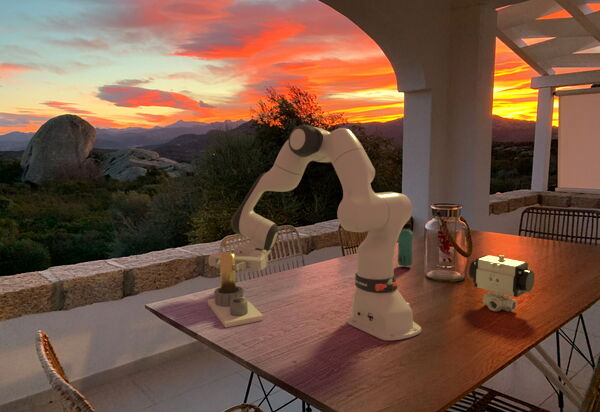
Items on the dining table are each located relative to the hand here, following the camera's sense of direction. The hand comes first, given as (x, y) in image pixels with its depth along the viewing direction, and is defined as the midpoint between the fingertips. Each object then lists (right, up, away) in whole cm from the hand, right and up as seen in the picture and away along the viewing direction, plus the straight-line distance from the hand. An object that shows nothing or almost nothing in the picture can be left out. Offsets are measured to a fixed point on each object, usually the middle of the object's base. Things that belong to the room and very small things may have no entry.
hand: (226, 267), depth 140 cm
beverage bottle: (+71, -7, +45) cm, 84 cm away
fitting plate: (+3, -14, -2) cm, 15 cm away
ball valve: (+89, -13, -3) cm, 90 cm away
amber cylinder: (0, -7, +2) cm, 8 cm away
